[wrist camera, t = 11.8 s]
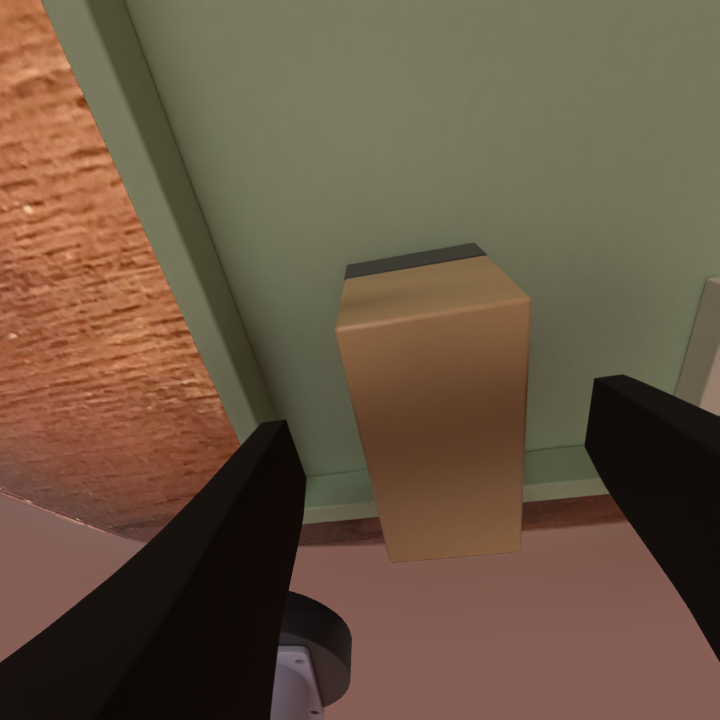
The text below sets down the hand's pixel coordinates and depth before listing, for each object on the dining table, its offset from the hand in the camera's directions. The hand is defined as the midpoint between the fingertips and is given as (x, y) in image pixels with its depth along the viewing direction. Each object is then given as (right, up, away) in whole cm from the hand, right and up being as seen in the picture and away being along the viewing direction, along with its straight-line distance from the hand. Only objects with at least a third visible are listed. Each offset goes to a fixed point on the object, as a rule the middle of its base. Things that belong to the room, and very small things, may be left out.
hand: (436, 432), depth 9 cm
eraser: (0, +2, +2) cm, 3 cm away
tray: (+12, +13, -4) cm, 18 cm away
